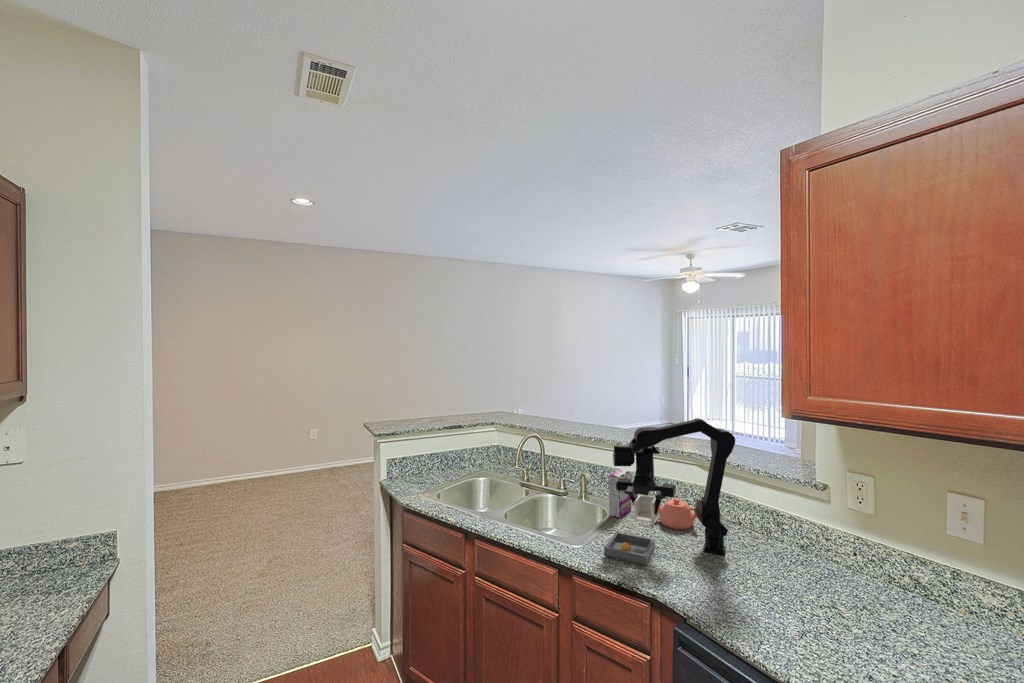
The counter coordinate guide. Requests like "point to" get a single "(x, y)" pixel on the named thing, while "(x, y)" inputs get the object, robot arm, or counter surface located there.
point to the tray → (639, 548)
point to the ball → (626, 547)
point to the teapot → (676, 514)
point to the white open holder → (645, 509)
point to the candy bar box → (618, 494)
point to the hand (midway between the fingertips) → (646, 513)
